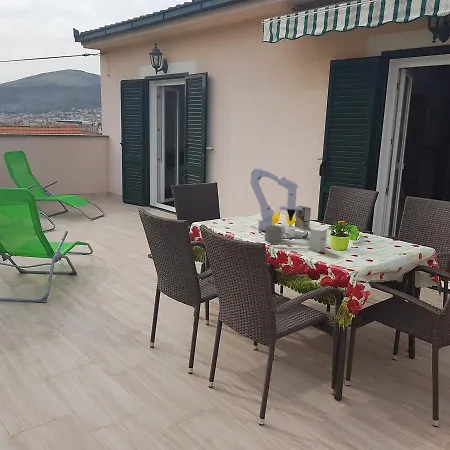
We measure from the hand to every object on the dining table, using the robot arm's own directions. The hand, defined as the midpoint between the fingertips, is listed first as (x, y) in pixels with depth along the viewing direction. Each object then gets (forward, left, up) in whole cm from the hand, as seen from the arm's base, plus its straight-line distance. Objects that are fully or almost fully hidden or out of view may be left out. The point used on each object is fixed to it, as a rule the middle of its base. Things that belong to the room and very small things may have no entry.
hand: (290, 220), depth 307 cm
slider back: (-5, +1, -8) cm, 9 cm away
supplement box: (+12, -36, -10) cm, 39 cm away
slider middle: (0, -6, -8) cm, 10 cm away
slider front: (0, -13, -8) cm, 15 cm away
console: (-1, -6, -10) cm, 11 cm away
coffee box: (+11, +18, -10) cm, 23 cm away
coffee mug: (-12, -23, -10) cm, 28 cm away
